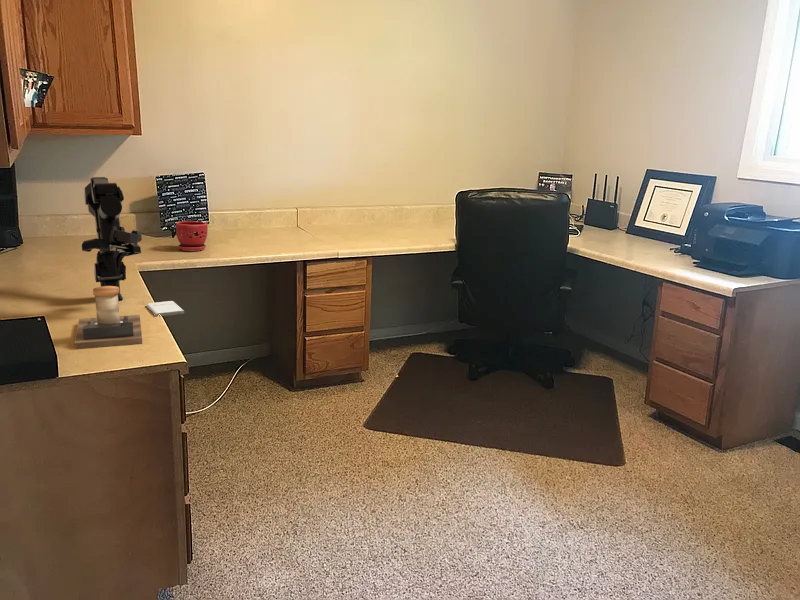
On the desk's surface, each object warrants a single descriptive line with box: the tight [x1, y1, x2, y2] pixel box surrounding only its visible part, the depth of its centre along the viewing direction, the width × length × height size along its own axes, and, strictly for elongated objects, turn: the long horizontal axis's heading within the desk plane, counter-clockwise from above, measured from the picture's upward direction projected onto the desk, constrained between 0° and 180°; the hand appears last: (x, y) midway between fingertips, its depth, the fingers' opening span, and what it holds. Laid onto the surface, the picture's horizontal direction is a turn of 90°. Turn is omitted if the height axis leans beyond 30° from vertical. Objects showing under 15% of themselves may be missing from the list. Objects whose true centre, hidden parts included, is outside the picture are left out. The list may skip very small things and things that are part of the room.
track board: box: [74, 314, 143, 350], centre depth 187 cm, size 22×16×2 cm
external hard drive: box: [146, 300, 185, 317], centre depth 211 cm, size 2×8×12 cm
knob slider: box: [92, 286, 123, 325], centre depth 183 cm, size 7×7×11 cm
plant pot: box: [175, 220, 209, 252], centre depth 299 cm, size 13×13×12 cm
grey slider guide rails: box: [83, 315, 134, 340], centre depth 186 cm, size 17×12×3 cm
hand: (115, 276), depth 202 cm, fingers closed
